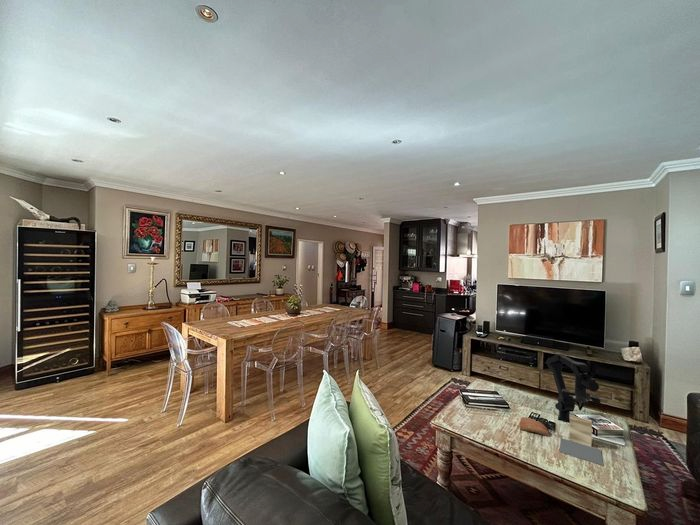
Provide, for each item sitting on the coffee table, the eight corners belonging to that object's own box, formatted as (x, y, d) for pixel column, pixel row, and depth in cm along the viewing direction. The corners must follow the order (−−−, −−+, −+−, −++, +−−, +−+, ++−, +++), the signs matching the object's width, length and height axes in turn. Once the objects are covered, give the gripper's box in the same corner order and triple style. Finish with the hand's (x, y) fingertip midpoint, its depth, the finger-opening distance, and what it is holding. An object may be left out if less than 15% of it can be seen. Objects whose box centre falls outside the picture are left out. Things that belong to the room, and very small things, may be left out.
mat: (560, 438, 177) (560, 437, 177) (600, 450, 167) (600, 449, 167) (559, 452, 164) (559, 451, 164) (603, 465, 154) (603, 465, 154)
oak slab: (569, 437, 179) (569, 415, 179) (591, 443, 173) (591, 420, 173) (569, 440, 176) (569, 417, 176) (591, 446, 170) (591, 423, 170)
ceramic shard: (546, 417, 191) (548, 432, 178) (544, 426, 192) (546, 442, 179) (519, 409, 198) (520, 423, 185) (518, 418, 199) (518, 432, 186)
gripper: (561, 384, 185) (560, 410, 185) (601, 393, 173) (600, 420, 174) (562, 379, 194) (561, 403, 194) (600, 386, 182) (599, 413, 183)
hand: (580, 410), depth 186 cm, fingers closed
